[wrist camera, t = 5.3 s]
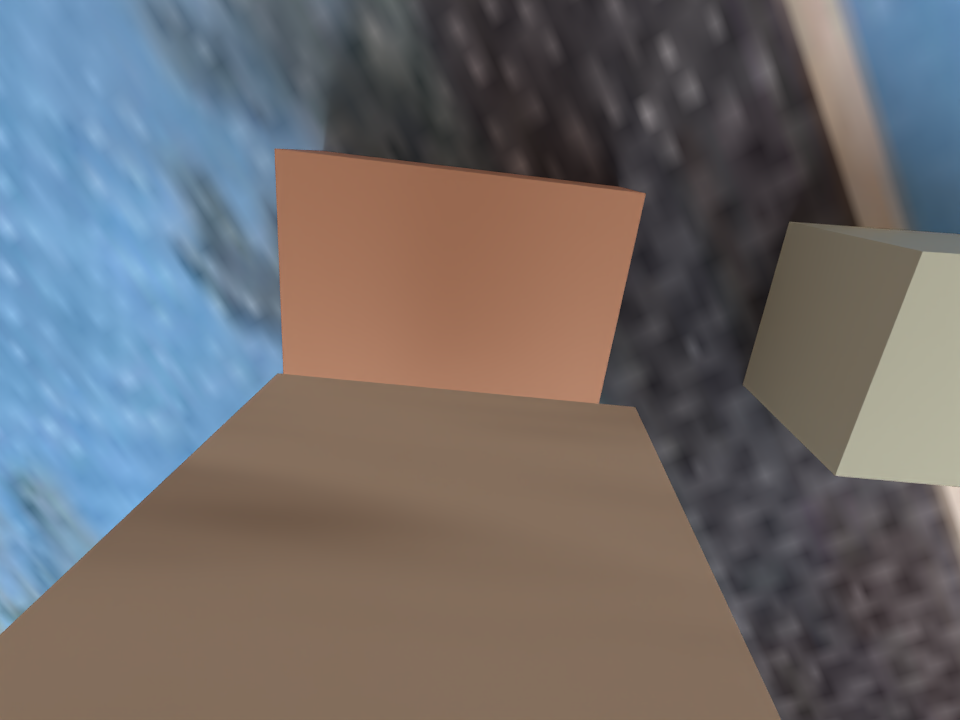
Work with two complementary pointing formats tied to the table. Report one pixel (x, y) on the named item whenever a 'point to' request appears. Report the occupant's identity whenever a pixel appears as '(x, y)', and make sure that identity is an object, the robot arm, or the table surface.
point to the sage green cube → (865, 350)
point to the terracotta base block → (449, 275)
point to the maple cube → (394, 575)
